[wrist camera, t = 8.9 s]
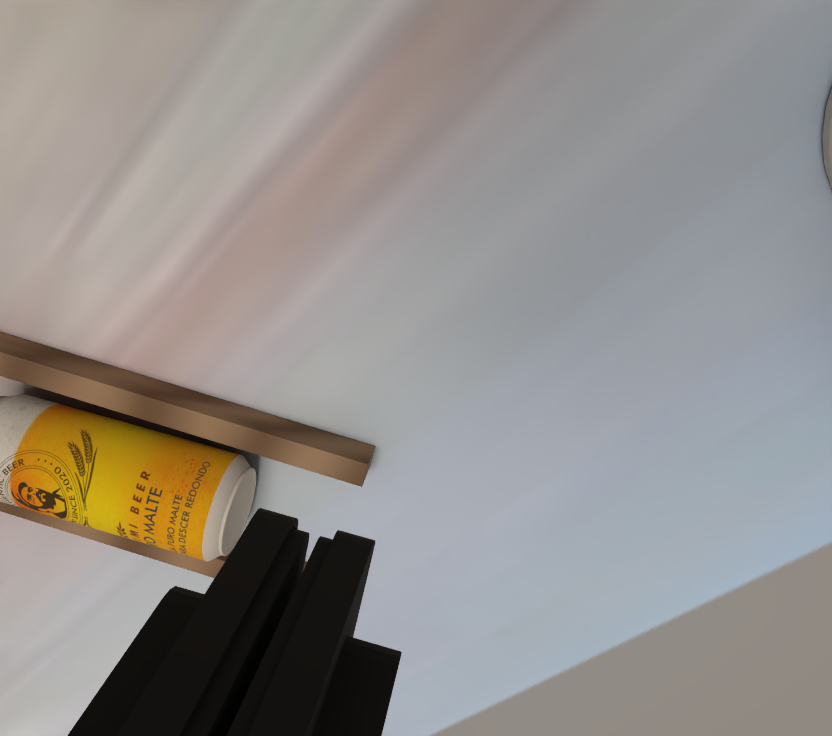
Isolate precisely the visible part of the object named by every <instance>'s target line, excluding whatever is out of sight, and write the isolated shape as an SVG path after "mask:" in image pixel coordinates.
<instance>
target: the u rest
mask: <svg viewBox="0 0 832 736" xmlns="http://www.w3.org/2000/svg"><path fill="white" fill-rule="evenodd" d="M0 376H3V377H6V378H9V379H13V380H16V381H19V382H22V383H26V384H29V385H32V386H35V387H39V388H42V389H45V390H48V391H52V392H55V393H58V394H61V395H65V396H68V397H71V398H75V399H78V400H81V401H84V402H88V403H91V404H94V405H97V406H101V407H104V408H107V409H110V410H114V411H117V412H120V413H123V414H127V415H130V416H133V417H136V418H140V419H143V420H146V421H149V422H153V423H156V424H159V425H162V426H166V427H169V428H172V429H176V430H179V431H182V432H185V433H189V434H192V435H195V436H198V437H202V438H205V439H208V440H211V441H215V442H218V443H221V444H224V445H228V446H231V447H234V448H237V449H241V450H244V451H247V452H250V453H254V454H257V455H260V456H263V457H267V458H270V459H273V460H276V461H280V462H283V463H286V464H290V465H293V466H296V467H299V468H303V469H306V470H309V471H312V472H316V473H319V474H322V475H325V476H329V477H332V478H335V479H338V480H342V481H345V482H348V483H351V484H355V485H358V486H361V487H362V485H363V483H364V480H365V477H366V475H367V472H368V470H369V467H370V463H371V460H372V456H373V452H374V449H375V446H372V445H369V444H365V443H362V442H359V441H356V440H352V439H349V438H346V437H343V436H339V435H336V434H333V433H329V432H326V431H323V430H320V429H316V428H313V427H310V426H306V425H303V424H300V423H297V422H293V421H290V420H287V419H284V418H280V417H277V416H274V415H270V414H267V413H264V412H261V411H257V410H254V409H251V408H247V407H244V406H241V405H238V404H234V403H231V402H228V401H225V400H221V399H218V398H215V397H211V396H208V395H205V394H202V393H198V392H195V391H192V390H189V389H185V388H182V387H179V386H175V385H172V384H169V383H166V382H162V381H159V380H156V379H152V378H149V377H146V376H143V375H139V374H136V373H133V372H130V371H126V370H123V369H120V368H116V367H113V366H110V365H107V364H103V363H100V362H97V361H93V360H90V359H87V358H84V357H80V356H77V355H74V354H71V353H67V352H64V351H61V350H57V349H54V348H51V347H48V346H44V345H41V344H38V343H35V342H31V341H28V340H25V339H21V338H18V337H15V336H12V335H8V334H5V333H2V332H0ZM0 511H2V512H5V513H8V514H11V515H14V516H18V517H21V518H24V519H27V520H30V521H34V522H37V523H40V524H43V525H46V526H50V527H53V528H56V529H59V530H62V531H66V532H69V533H72V534H75V535H78V536H82V537H85V538H88V539H91V540H95V541H98V542H101V543H104V544H107V545H111V546H114V547H117V548H120V549H123V550H127V551H130V552H133V553H136V554H139V555H143V556H146V557H149V558H152V559H155V560H159V561H162V562H165V563H168V564H171V565H175V566H178V567H181V568H184V569H187V570H191V571H194V572H197V573H200V574H203V575H207V576H210V577H213V578H215V577H216V575H217V574H218V572H219V571H220V569H221V567H222V566H223V564H224V563H225V561H226V559H227V558H228V556H229V555H230V553H231V552H230V553H229V554H228V555H227V556H222V555H221V556H219V557H217V558H215V559H213V560H211V561H204V560H200V559H197V558H193V557H190V556H186V555H183V554H179V553H176V552H173V551H169V550H166V549H162V548H159V547H155V546H152V545H148V544H145V543H142V542H138V541H135V540H131V539H128V538H124V537H121V536H117V535H114V534H111V533H107V532H104V531H100V530H97V529H93V528H90V527H86V526H83V525H80V524H76V523H73V522H69V521H66V520H62V519H59V518H55V517H52V516H49V515H45V514H42V513H38V512H35V511H31V510H28V509H24V508H21V507H18V506H14V505H11V504H7V503H4V502H0ZM306 564H307V563H306V562H304V568H305V566H306ZM304 568H303V571H304Z"/></svg>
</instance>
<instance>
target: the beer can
mask: <svg viewBox="0 0 832 736" xmlns="http://www.w3.org/2000/svg"><path fill="white" fill-rule="evenodd" d="M255 487H256V471H255V469H254V468H252V467H250V465H249V464H248V462H247V460H246V459H245V457H244V456H243V455H240V454H236V453H233V452H229V451H226V450H222V449H219V448H215V447H212V446H208V445H204V444H201V443H197V442H194V441H190V440H187V439H183V438H179V437H176V436H172V435H169V434H165V433H162V432H158V431H155V430H151V429H147V428H144V427H140V426H137V425H133V424H130V423H126V422H123V421H119V420H115V419H112V418H108V417H105V416H101V415H98V414H94V413H91V412H87V411H83V410H80V409H76V408H73V407H69V406H66V405H62V404H58V403H55V402H51V401H48V400H44V399H41V398H37V397H34V396H30V395H26V394H21V395H16V396H10V397H8V396H0V502H4V503H7V504H11V505H14V506H18V507H21V508H24V509H28V510H31V511H35V512H38V513H42V514H45V515H49V516H52V517H55V518H59V519H62V520H66V521H69V522H73V523H76V524H80V525H83V526H86V527H90V528H93V529H97V530H100V531H104V532H107V533H111V534H114V535H117V536H121V537H124V538H128V539H131V540H135V541H138V542H142V543H145V544H148V545H152V546H155V547H159V548H162V549H166V550H169V551H173V552H176V553H179V554H183V555H186V556H190V557H193V558H197V559H200V560H204V561H211V560H213V559H215V558H217V557H219V556H221V555H222V556H227V555H228V554H229V553H230V552H231V551H232V550H233V548H234V547H235V545H236V543H237V542H238V540H239V538H240V536H241V533H242V531H243V529H244V526H245V524H246V521H247V518H248V515H249V512H250V509H251V506H252V502H253V498H254V493H255Z"/></svg>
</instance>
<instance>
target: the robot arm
mask: <svg viewBox="0 0 832 736" xmlns="http://www.w3.org/2000/svg"><path fill="white" fill-rule="evenodd" d="M822 141H823V154H824V165H825V168H826V172H827V175H828V178H829V182H830V185H831V188H832V90H831V93H830V97H829V100H828V103H827V106H826V111H825V119H824V127H823V134H822ZM297 529H298V519H297V518H293V517H290V516H286V515H283V514H279V513H276V512H272V511H269V510H265V509H262V508H260V509H258V510H257V512H256V513H255V514H254V516H253V518H252V519H251V521H250V522H249V524H248V526H247V527H246V529H245V530H244V532H243V534H242V535H241V537H240V539H239V540H238V542H237V543H236V545H235V547H234V548H233V550H232V551H231V553H230V555H229V556H228V558H227V559H226V561H225V563H224V564H223V566H222V567H221V569H220V571H219V572H218V574H217V575H216V577H215V579H214V580H213V582H212V584H211V585H210V587H209V588H208V590H207V592H206V593H205V594H201V593H198V592H194V591H191V590H187V589H184V588H181V587H177V586H175V587H173V588H172V589H170V590H169V591H168V592H167V594H166V595H165V596H164V597H163V599H162V600H161V602H160V603H159V604H158V606H157V607H156V609H155V610H154V612H153V613H152V614H151V616H150V617H149V619H148V620H147V622H146V623H145V625H144V626H143V627H142V629H141V630H140V632H139V633H138V635H137V636H136V638H135V639H134V640H133V642H132V643H131V645H130V646H129V648H128V649H127V651H126V652H125V653H124V655H123V656H122V658H121V659H120V661H119V662H118V664H117V665H116V666H115V668H114V669H113V671H112V672H111V674H110V675H109V677H108V678H107V679H106V681H105V682H104V684H103V685H102V687H101V688H100V690H99V691H98V692H97V694H96V695H95V697H94V698H93V700H92V701H91V703H90V704H89V705H88V707H87V708H86V710H85V711H84V713H83V714H82V716H81V717H80V718H79V720H78V721H77V723H76V724H75V726H74V727H73V729H72V730H71V731H70V733H69V734H68V736H381V735H382V731H383V727H384V723H385V719H386V715H387V710H388V706H389V702H390V698H391V694H392V690H393V686H394V682H395V678H396V674H397V670H398V665H399V661H400V657H401V652H400V651H397V650H393V649H390V648H386V647H383V646H380V645H376V644H373V643H369V642H366V641H362V640H359V639H356V638H353V635H354V630H355V626H356V622H357V618H358V614H359V609H360V605H361V601H362V597H363V592H364V588H365V584H366V580H367V576H368V571H369V567H370V563H371V559H372V554H373V550H374V546H375V540H371V539H368V538H364V537H361V536H357V535H354V534H350V533H347V532H343V531H339V530H338V531H337V532H336V534H335V536H334V538H333V540H332V539H329V538H325V537H322V536H320V537H319V539H318V541H317V543H316V545H315V547H314V549H313V551H312V553H311V556H310V558H309V560H308V562H307V564H306V566H305V568H304V562H305V557H306V552H307V547H308V541H309V533H307V532H304V531H300V530H297ZM303 568H304V571H303Z"/></svg>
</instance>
